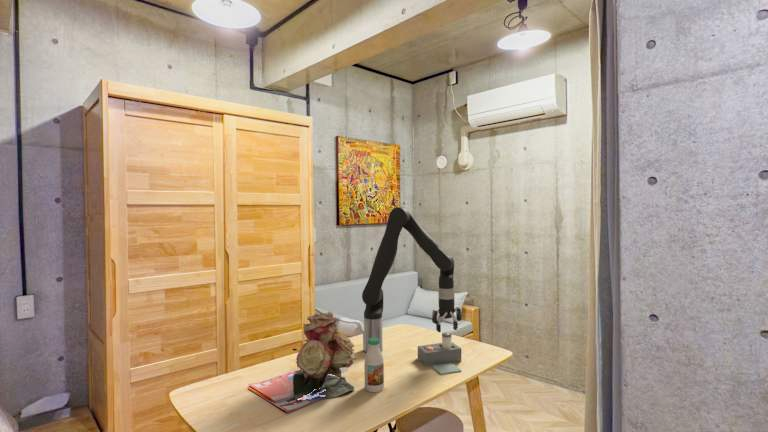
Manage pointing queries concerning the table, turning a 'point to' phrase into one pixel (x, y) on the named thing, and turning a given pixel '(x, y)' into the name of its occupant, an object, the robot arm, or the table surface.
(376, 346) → the milk bottle
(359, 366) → the table surface
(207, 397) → the table surface
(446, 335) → the cartridge
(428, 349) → the orange egg
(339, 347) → the rose bouquet
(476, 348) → the table surface
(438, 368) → the mat
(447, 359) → the housing
